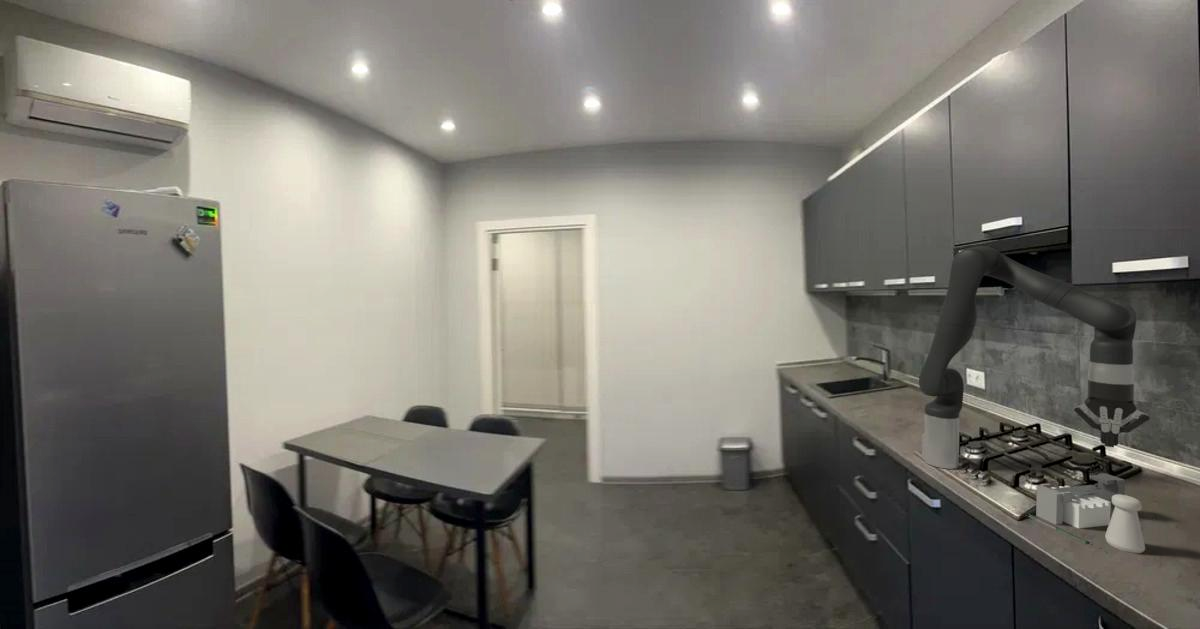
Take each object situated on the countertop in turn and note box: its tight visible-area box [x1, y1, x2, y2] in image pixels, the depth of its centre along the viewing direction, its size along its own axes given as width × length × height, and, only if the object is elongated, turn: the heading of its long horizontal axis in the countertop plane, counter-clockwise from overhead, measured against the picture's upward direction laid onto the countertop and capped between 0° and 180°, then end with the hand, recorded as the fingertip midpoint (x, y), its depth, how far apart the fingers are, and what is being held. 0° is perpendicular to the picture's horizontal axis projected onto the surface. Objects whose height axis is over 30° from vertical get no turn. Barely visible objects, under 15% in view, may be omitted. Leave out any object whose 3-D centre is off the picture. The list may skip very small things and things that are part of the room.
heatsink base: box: [1012, 483, 1111, 545], centre depth 109 cm, size 16×21×10 cm
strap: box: [1048, 484, 1102, 496], centre depth 108 cm, size 3×13×1 cm, turn 96°
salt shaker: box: [1104, 494, 1146, 554], centre depth 96 cm, size 6×6×13 cm
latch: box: [1091, 472, 1126, 516], centre depth 110 cm, size 4×5×10 cm
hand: (1109, 446), depth 109 cm, fingers closed
